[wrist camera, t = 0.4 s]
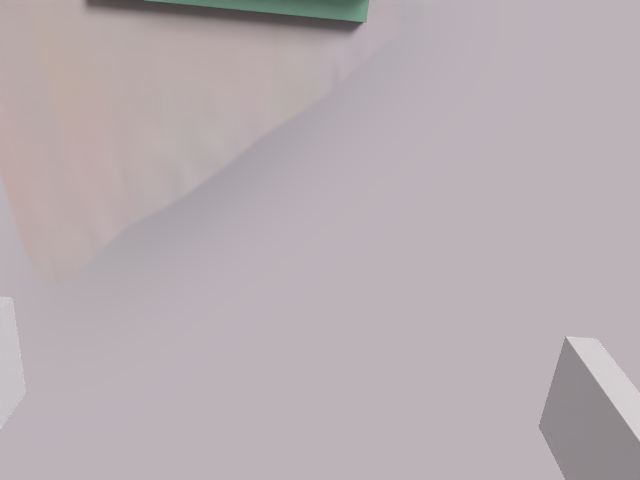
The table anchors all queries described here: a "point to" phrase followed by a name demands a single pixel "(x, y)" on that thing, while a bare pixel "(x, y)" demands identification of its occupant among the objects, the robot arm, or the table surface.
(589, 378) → the robot arm
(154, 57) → the table surface
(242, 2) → the board
